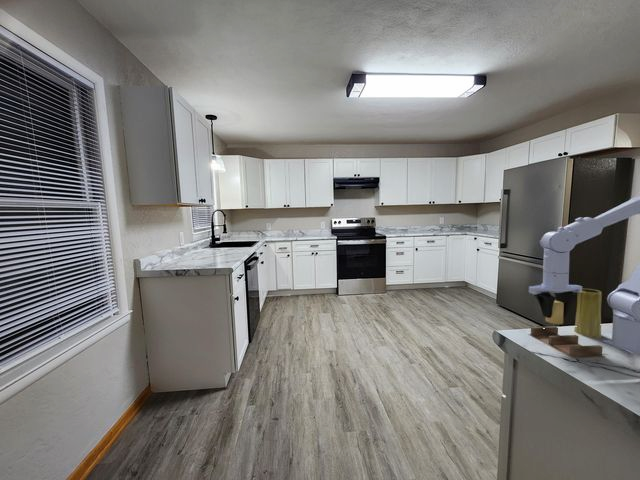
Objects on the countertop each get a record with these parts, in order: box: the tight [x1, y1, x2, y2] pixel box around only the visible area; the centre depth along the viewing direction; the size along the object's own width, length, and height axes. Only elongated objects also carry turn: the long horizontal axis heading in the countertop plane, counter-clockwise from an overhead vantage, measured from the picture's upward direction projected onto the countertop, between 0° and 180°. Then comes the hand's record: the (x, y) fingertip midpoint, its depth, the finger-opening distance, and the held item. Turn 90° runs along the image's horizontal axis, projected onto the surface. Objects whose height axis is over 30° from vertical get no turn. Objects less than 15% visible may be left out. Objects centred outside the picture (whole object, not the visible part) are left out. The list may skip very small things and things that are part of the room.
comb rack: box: [527, 325, 606, 359], centre depth 77 cm, size 9×15×3 cm, turn 1°
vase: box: [573, 288, 603, 339], centre depth 83 cm, size 6×6×14 cm
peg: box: [544, 300, 564, 325], centre depth 79 cm, size 4×4×6 cm
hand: (554, 316), depth 79 cm, fingers closed on peg, 4 cm apart
